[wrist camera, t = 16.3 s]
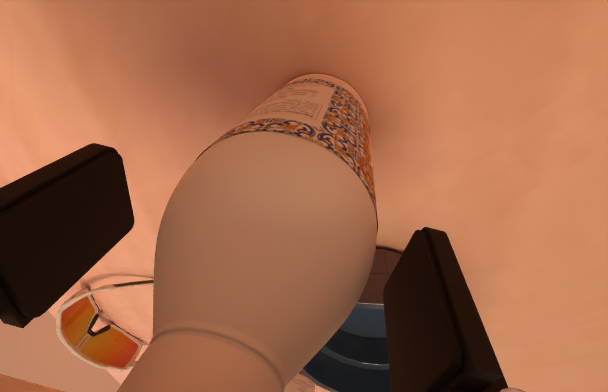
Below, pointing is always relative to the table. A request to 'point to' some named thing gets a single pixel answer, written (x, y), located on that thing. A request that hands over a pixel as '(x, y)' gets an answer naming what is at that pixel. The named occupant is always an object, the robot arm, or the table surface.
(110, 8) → the table surface
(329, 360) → the bowl
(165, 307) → the bath foam
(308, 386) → the medicine box
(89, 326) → the sunglasses
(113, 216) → the robot arm
